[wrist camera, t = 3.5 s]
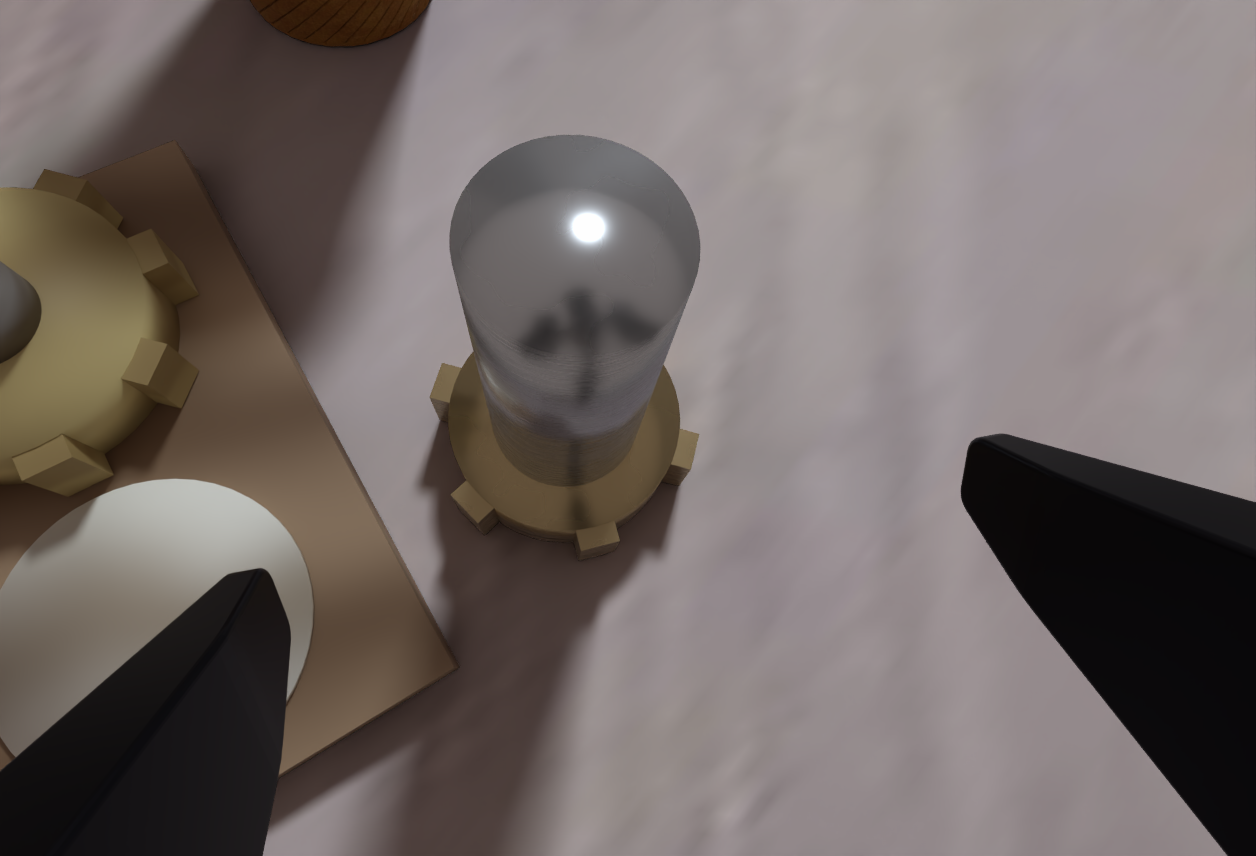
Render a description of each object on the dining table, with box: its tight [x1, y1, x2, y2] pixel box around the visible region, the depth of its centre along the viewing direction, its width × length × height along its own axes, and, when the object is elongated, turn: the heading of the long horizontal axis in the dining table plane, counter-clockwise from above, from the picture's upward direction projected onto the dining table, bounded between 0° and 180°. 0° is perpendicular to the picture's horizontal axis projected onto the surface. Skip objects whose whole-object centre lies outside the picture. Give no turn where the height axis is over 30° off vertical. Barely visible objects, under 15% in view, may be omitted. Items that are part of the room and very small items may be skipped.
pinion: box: [430, 135, 700, 561], centre depth 16 cm, size 7×7×10 cm
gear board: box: [0, 140, 460, 778], centre depth 17 cm, size 17×11×5 cm, turn 32°
